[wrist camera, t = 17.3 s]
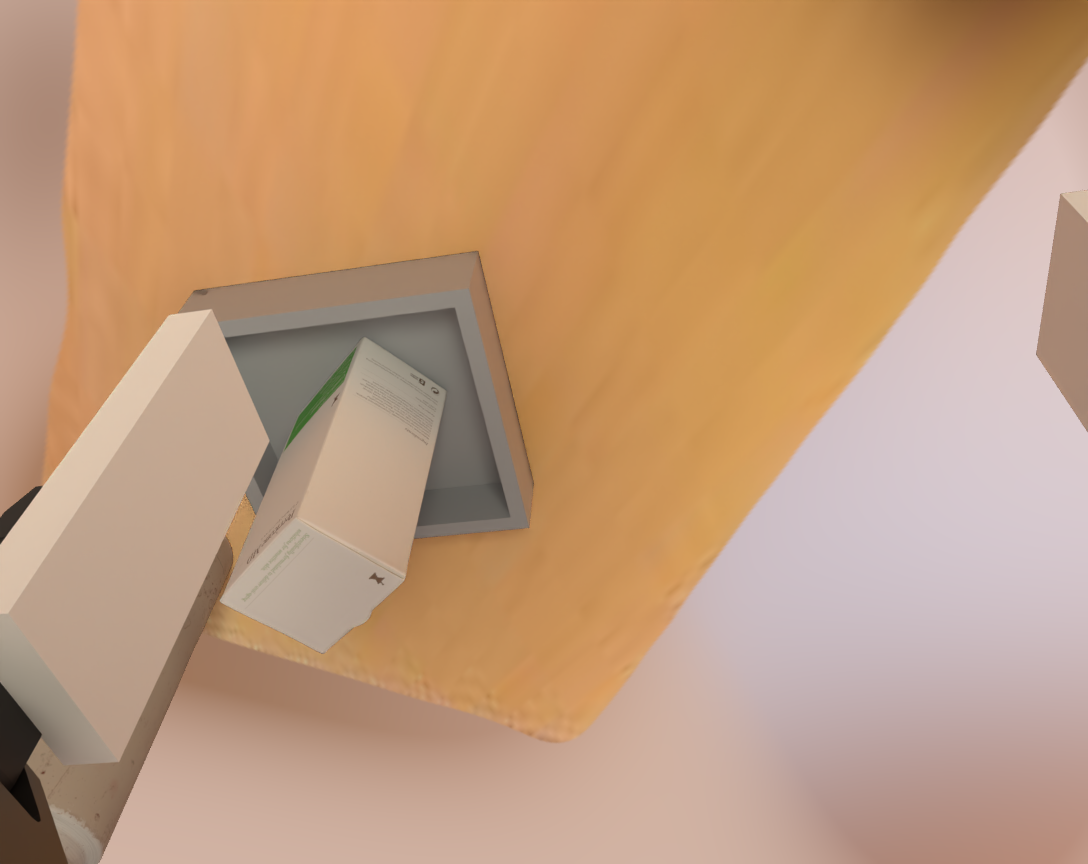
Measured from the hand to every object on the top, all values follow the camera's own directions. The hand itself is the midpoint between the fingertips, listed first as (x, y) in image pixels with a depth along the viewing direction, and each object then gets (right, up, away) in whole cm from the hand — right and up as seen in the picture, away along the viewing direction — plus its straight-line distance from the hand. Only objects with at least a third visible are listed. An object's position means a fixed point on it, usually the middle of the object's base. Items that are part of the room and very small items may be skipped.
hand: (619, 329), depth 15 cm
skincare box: (-12, 0, +44) cm, 45 cm away
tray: (-12, +1, +44) cm, 45 cm away
